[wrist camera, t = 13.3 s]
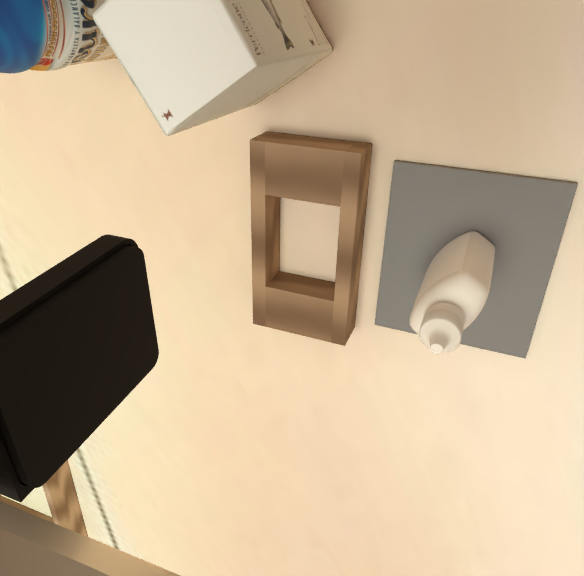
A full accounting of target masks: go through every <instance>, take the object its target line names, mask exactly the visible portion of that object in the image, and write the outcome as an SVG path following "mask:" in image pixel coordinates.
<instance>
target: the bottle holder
mask: <svg viewBox="0 0 584 576" xmlns="http://www.w3.org/2000/svg"><path fill="white" fill-rule="evenodd" d="M371 152H372V144H371V143H362V142H354V141H345V140H336V139H327V138H319V137H310V136H301V135H292V134H283V133H275V132H265V133H263V134H261V135H259V136H257V137H255V138H253V139H251V140H250V175H251V230H252V286H253V324H257V325H261V326H265V327H270V328H274V329H278V330H282V331H286V332H290V333H294V334H299V335H303V336H307V337H311V338H315V339H319V340H323V341H327V342H332V343H336V344H340V345H344V346H345V344H346V342H347V341H348V339H349V337H350V335H351V333H352V331H353V329H354V327H355V318H356V307H357V297H358V286H359V276H360V266H361V255H362V245H363V235H364V224H365V214H366V203H367V193H368V183H369V172H370V162H371ZM280 197H282V198H289V199H295V200H302V201H308V202H314V203H321V204H327V205H334V206H340V207H341V209H340V223H339V237H338V251H337V265H336V280H335V283H334V282H329V281H324V280H319V279H314V278H309V277H304V276H299V275H294V274H290V273H285V272H280V271H279V262H280Z"/></svg>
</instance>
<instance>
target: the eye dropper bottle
mask: <svg viewBox="0 0 584 576" xmlns="http://www.w3.org/2000/svg"><path fill="white" fill-rule="evenodd" d="M494 256H495V247H494V246H493V244H492V243H491V242H489V241H488V240H487V239H486V238H484V237H483V236H482V235H481V234H479V233H478V232H475V231H470V232H467V233H465V234H462V235H460V236H458V237H456V238H455V239H453V240H452V241H450V242H449V243H447V244H446V245H445V246H444V247H443V248H442V249H441V250H440V251H439V252H438V253H437V254H436V255H435V257H434V258H433V260H432V261H431V263H430V265H429V267H428V269H427V271H426V274H425V277H424V279H423V282H422V285H421V287H420V290H419V293H418V295H417V298H416V301H415V304H414V306H413V309H412V312H411V316H410V326H411V327H412V329H413V330H414V331H415V332H416V333H417V334H419V335H420V339H421V342H422V343H423V344H424V345H425V346H426V347H427V348H428V349H430V350H431V352H432V353H434V354H441V353H447V352H450V351H453V350H455V349H456V348H457V347H458V346H459V344H460V342H461V340H462V335H463V330H464V329H466V328H467V327H468V326H469V325H470V324H471V323H472V322H473V321H474V320H475V319H476V317H477V316H478V315H479V313H480V312H481V310H482V308H483V306H484V305H485V302H486V300H487V297H488V294H489V291H490V285H491V278H492V271H493V264H494Z"/></svg>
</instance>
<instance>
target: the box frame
mask: <svg viewBox="0 0 584 576" xmlns="http://www.w3.org/2000/svg"><path fill="white" fill-rule="evenodd" d="M43 488H44V492H45V495H46V498H47V501H48V504H49V508H50V511H51V514H52V517H53V518H51V517H49V516H46V515H44V514H42V513H39V512H37V511H35V510H32V509H30V508H28V507H25V506H23V505H21V504H18V503H16V502H14V501H11V500H9V499H7V498H4V497H2V496H1V495H0V501H1V502H4V503H6V504H9V505H11V506H14V507H16V508H18V509H21V510H23V511H26V512H28V513H31V514H33V515H35V516H38V517H40V518H43V519H45V520H48V521H50V522H52V523H55V524H57V525H60V526H62V527H65V528H67V529H69V530H72V531H74V532H77V533H79V534H82V535H84V536H86V537H88V535H87V532H86V528H85V524H84V520H83V517H82V513H81V509H80V506H79V502H78V498H77V494H76V491H75V487H74V483H73V479H72V476H71V472H70V468H69V465H68V461H66V462H65V463H64V464H63V465H62V466H61V467H60V468H59V469H58V470H57V471H56V472H55V473H54V475H53V476H52V477H51V478H50V479H49V480H48V481H47V482H46V483H45V484H44V485H43Z"/></svg>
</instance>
